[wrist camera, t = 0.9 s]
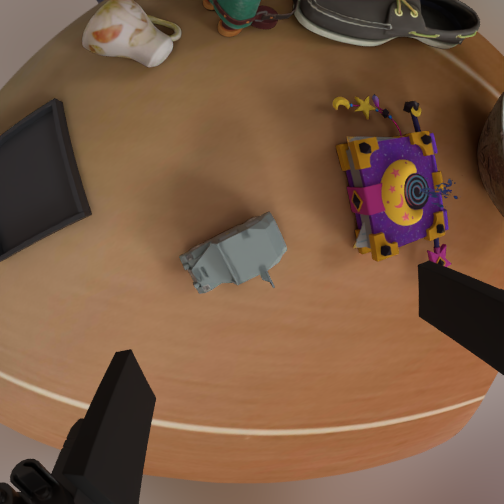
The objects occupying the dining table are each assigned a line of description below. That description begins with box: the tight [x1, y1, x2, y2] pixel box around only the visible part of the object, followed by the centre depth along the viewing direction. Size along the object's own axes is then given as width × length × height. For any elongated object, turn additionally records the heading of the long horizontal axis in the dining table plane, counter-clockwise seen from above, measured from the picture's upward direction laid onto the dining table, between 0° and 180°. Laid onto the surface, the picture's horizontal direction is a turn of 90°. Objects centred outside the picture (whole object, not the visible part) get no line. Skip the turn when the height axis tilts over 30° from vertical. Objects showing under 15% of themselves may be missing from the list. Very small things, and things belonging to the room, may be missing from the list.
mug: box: [82, 0, 181, 67], centre depth 21 cm, size 8×10×10 cm
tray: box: [0, 98, 92, 262], centre depth 25 cm, size 14×15×2 cm
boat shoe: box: [293, 0, 480, 49], centre depth 23 cm, size 11×29×9 cm, turn 114°
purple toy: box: [333, 94, 463, 267], centre depth 26 cm, size 14×25×12 cm, turn 16°
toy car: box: [179, 212, 287, 294], centre depth 29 cm, size 6×10×5 cm, turn 115°
